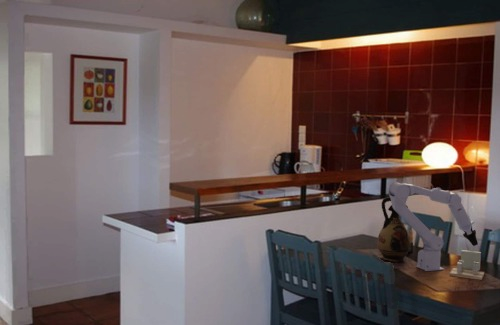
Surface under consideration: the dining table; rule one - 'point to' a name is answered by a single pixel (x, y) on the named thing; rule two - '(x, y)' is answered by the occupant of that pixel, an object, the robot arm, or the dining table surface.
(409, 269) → the dining table surface
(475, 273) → the hinge bracket
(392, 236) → the ceramic jug
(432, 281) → the dining table surface
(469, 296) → the dining table surface
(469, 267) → the door
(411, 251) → the ammunition clip
